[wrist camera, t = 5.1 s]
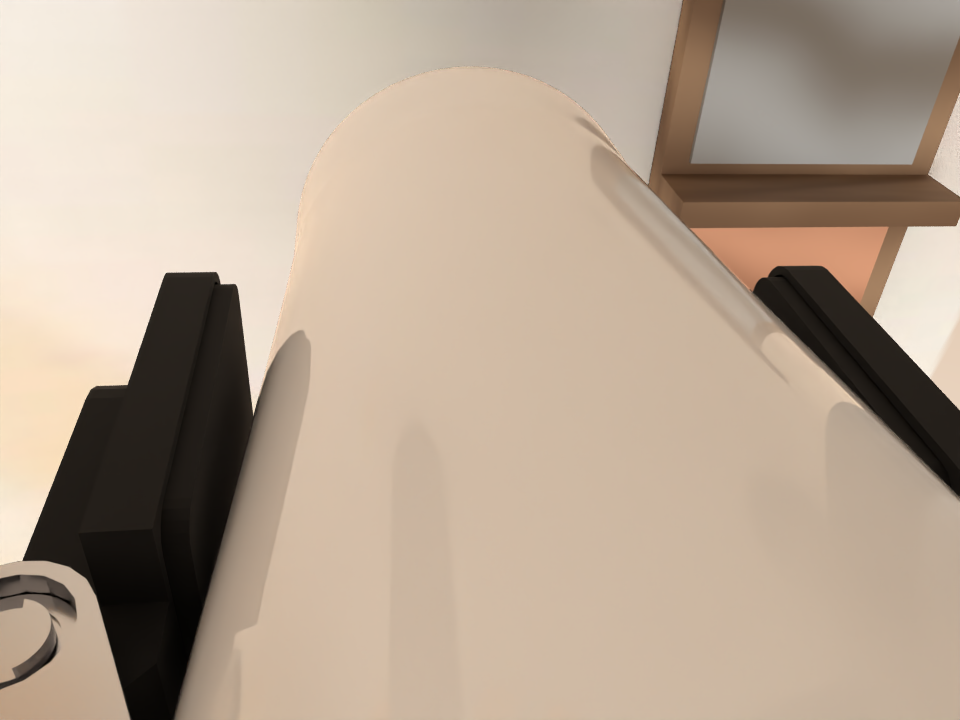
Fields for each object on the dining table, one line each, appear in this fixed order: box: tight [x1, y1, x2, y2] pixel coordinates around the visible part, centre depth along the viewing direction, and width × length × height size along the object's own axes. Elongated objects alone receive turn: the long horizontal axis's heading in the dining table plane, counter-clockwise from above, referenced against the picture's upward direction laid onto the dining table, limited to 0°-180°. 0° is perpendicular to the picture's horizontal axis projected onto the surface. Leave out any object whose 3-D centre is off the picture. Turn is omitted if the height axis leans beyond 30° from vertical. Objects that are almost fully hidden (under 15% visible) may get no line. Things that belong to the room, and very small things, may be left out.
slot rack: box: [648, 0, 960, 317], centre depth 32 cm, size 23×11×4 cm, turn 176°
